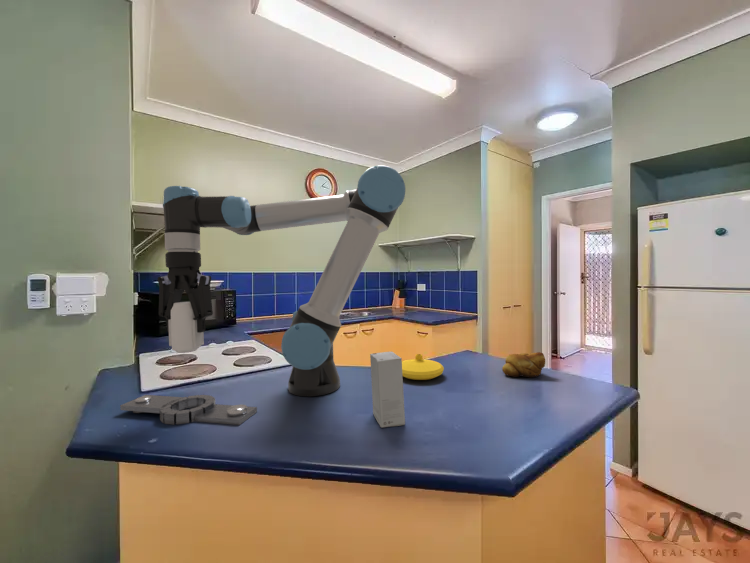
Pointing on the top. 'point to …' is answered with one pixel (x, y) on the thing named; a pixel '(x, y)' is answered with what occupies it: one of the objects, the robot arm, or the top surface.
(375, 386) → the skincare box
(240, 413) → the grey pipe clamp bracket
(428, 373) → the yellow lidded dish
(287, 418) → the top surface
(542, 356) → the bread roll
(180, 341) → the beverage can
